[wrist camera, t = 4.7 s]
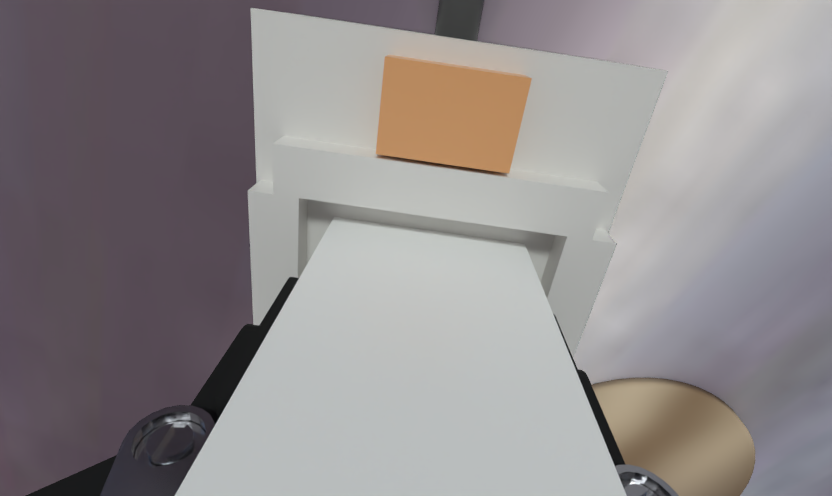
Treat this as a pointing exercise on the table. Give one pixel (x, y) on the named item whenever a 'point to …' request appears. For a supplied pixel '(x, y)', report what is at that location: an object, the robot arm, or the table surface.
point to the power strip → (440, 145)
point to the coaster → (679, 435)
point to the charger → (409, 380)
